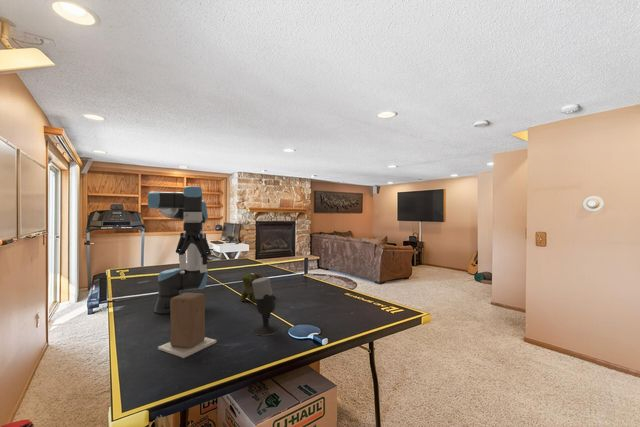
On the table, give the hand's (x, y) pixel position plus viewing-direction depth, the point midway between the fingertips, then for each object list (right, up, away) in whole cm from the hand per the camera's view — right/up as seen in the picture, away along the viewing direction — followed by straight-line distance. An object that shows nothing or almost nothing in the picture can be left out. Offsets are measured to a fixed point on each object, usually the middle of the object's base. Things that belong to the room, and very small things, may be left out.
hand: (192, 270), depth 129 cm
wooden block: (0, -30, -4) cm, 30 cm away
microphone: (+30, -31, +13) cm, 45 cm away
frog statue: (+11, -32, +66) cm, 74 cm away
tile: (0, -31, -4) cm, 31 cm away
